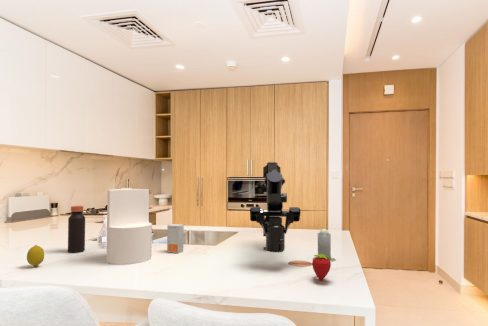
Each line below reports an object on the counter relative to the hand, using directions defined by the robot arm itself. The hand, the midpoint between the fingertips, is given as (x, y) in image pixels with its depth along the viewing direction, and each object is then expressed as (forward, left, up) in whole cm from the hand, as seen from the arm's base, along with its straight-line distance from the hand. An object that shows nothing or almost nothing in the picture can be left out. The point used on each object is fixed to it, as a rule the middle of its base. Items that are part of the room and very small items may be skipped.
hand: (275, 232), depth 121 cm
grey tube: (-6, +23, -13) cm, 27 cm away
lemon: (-30, -84, -13) cm, 90 cm away
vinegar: (-53, -74, -13) cm, 92 cm away
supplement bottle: (-1, 0, -7) cm, 7 cm away
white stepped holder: (-32, -51, -13) cm, 62 cm away
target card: (-5, +16, -13) cm, 22 cm away
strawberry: (+16, +9, -13) cm, 23 cm away
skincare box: (-39, -32, -13) cm, 52 cm away
